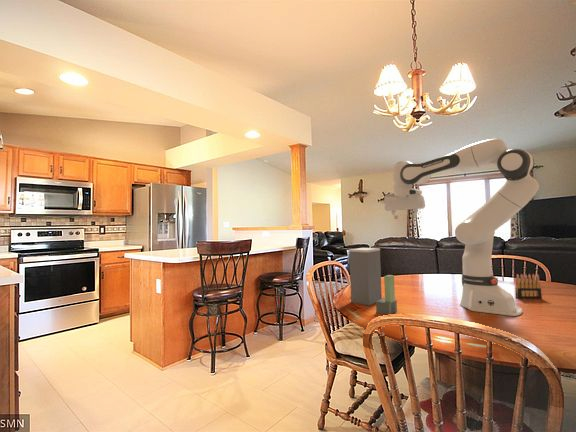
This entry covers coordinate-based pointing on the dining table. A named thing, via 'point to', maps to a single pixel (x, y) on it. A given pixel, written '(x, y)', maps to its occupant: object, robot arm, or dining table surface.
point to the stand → (365, 275)
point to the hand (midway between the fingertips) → (405, 218)
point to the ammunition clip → (528, 287)
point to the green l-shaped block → (387, 297)
